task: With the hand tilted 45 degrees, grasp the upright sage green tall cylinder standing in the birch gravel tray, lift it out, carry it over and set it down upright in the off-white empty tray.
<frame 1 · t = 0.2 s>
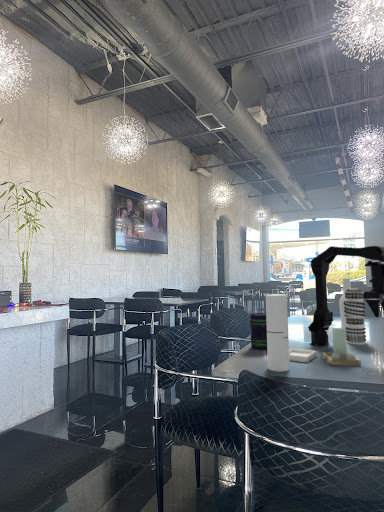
hand: (382, 316, 138), 15 cm above the table, tool pointing down, fingers open, 9 cm apart
pebble 2: (335, 361, 123), point 1 cm above the table, touching gravel tray
pebble 1: (350, 361, 122), point 1 cm above the table, touching gravel tray
gravel tray: (340, 361, 126), on the table
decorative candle: (356, 343, 160), on the table
storage jar: (262, 348, 152), on the table
cylindrical container: (278, 369, 118), on the table
empty tray: (299, 357, 133), on the table
bottle: (349, 338, 174), on the table
sage green tall cylinder: (340, 359, 126), point 1 cm above the table, touching gravel tray
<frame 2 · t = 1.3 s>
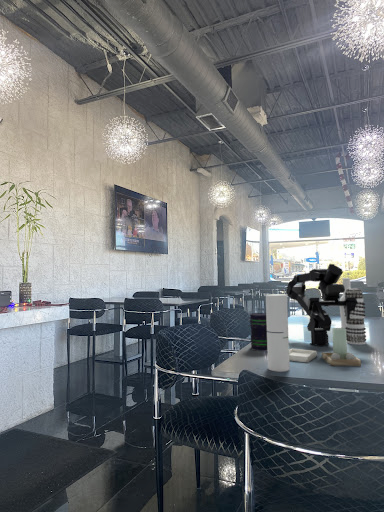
hand: (336, 319, 138), 14 cm above the table, tool tilted 45°, fingers open, 9 cm apart
nothing on the table moved.
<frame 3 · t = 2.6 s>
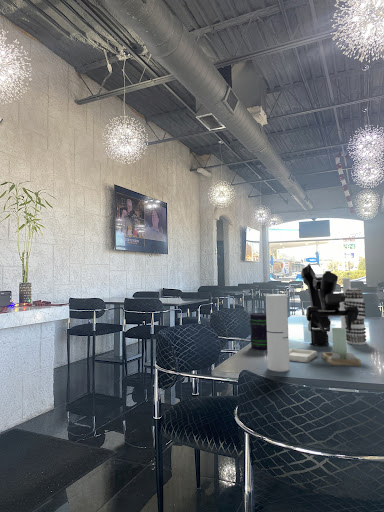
hand: (336, 331, 129), 11 cm above the table, tool tilted 45°, fingers open, 9 cm apart
nothing on the table moved.
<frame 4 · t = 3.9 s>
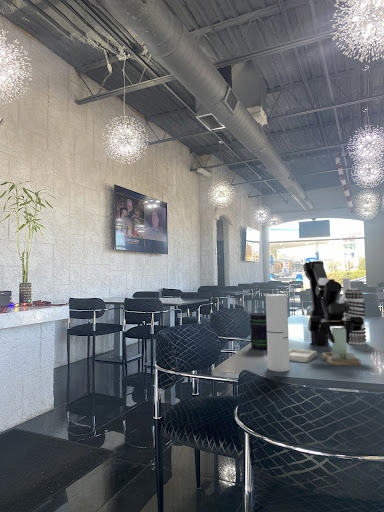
hand: (340, 342, 125), 7 cm above the table, tool tilted 45°, fingers closed on sage green tall cylinder, 5 cm apart
sage green tall cylinder: (340, 359, 126), point 1 cm above the table, touching gravel tray, gripper
everything else where it was.
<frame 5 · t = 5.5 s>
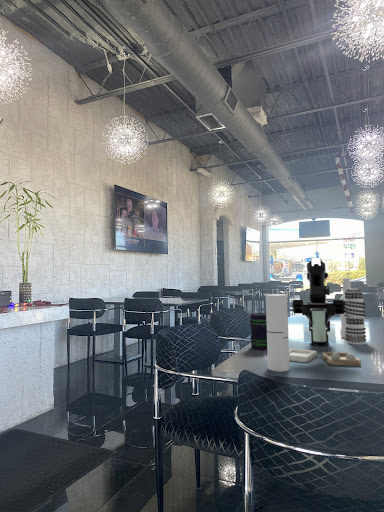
hand: (318, 324, 128), 13 cm above the table, tool tilted 45°, fingers closed on sage green tall cylinder, 5 cm apart
sage green tall cylinder: (319, 340, 129), point 7 cm above the table, touching gripper
everything else where it was.
when the fingers open (8 cm above the table, at t = 7.4 s): sage green tall cylinder drops 1 cm, resting on empty tray.
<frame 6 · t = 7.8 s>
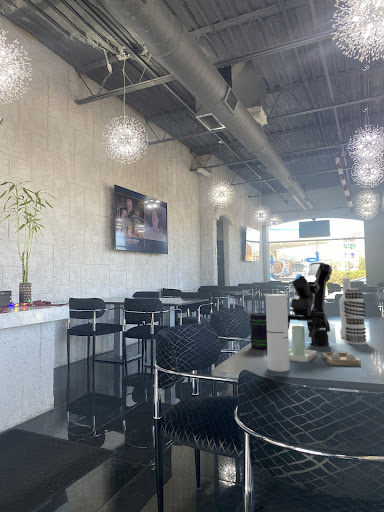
hand: (297, 335, 133), 9 cm above the table, tool tilted 45°, fingers open, 9 cm apart
sage green tall cylinder: (299, 355, 133), point 1 cm above the table, touching empty tray
everything else where it was.
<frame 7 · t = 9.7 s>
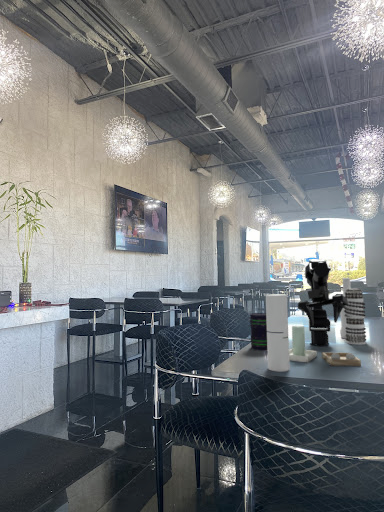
hand: (323, 323, 137), 12 cm above the table, tool tilted 25°, fingers open, 9 cm apart
nothing on the table moved.
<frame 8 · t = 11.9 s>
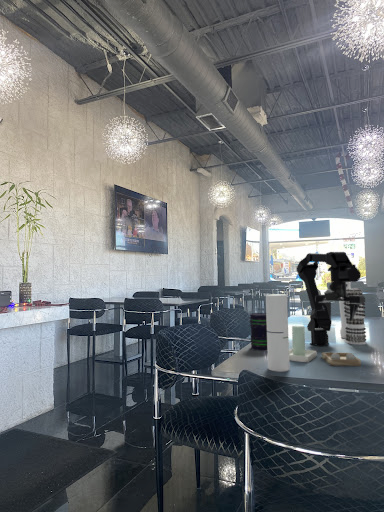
hand: (340, 319, 143), 13 cm above the table, tool pointing down, fingers open, 9 cm apart
nothing on the table moved.
at the end: sage green tall cylinder inside the target area on the empty tray (0.0 cm from its centre), point 0.8 cm above the empty tray's base; sage green tall cylinder tilted 1°; the gripper is holding nothing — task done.
